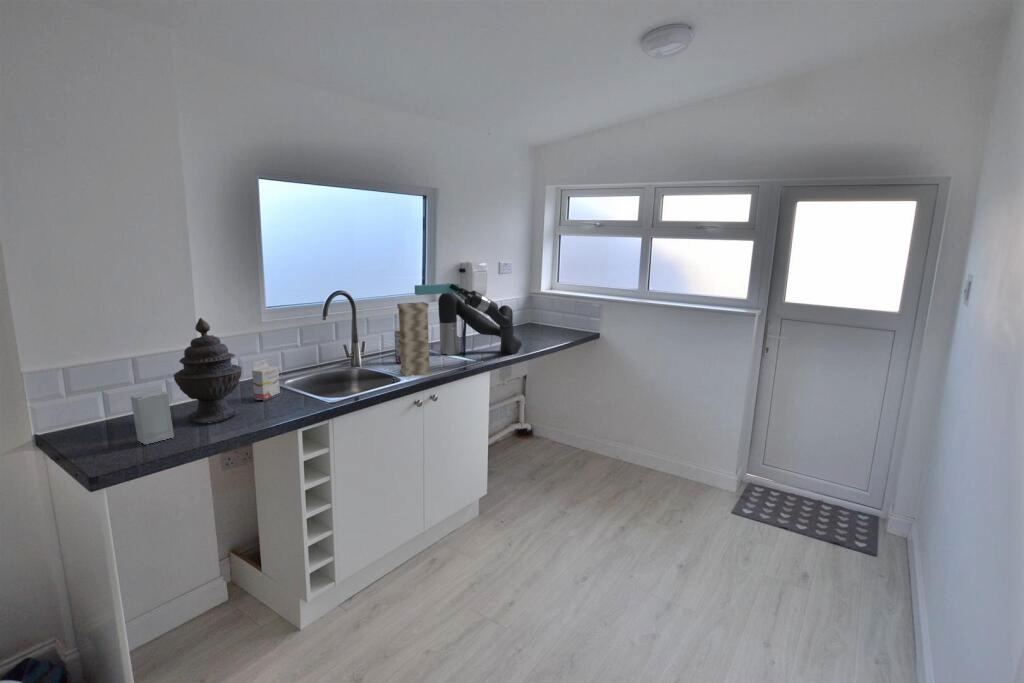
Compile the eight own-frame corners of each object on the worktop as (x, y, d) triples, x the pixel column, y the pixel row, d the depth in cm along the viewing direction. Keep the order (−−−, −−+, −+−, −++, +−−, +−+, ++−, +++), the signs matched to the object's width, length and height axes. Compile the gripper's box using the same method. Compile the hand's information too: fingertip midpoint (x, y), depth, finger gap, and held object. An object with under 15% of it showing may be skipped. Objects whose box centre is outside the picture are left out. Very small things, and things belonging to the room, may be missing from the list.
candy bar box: (395, 363, 266) (393, 330, 263) (398, 361, 270) (397, 329, 268) (417, 363, 264) (416, 331, 262) (420, 361, 269) (418, 329, 266)
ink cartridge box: (264, 402, 202) (261, 363, 199) (254, 400, 203) (250, 362, 201) (281, 396, 209) (278, 359, 207) (271, 394, 211) (267, 358, 208)
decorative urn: (237, 423, 175) (220, 317, 170) (170, 431, 172) (151, 323, 167) (256, 408, 195) (242, 312, 190) (197, 414, 192) (180, 317, 187)
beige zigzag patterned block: (425, 370, 251) (422, 302, 245) (430, 373, 245) (428, 303, 239) (400, 373, 245) (397, 303, 240) (405, 376, 239) (402, 305, 234)
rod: (455, 291, 250) (455, 283, 249) (459, 292, 247) (459, 283, 246) (414, 294, 241) (414, 285, 240) (417, 295, 237) (417, 286, 236)
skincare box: (167, 434, 167) (161, 388, 164) (175, 439, 164) (169, 391, 161) (136, 442, 161) (129, 394, 158) (143, 447, 157) (136, 398, 154)
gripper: (481, 310, 248) (451, 293, 239) (468, 307, 260) (439, 291, 252) (488, 295, 249) (458, 278, 240) (475, 293, 261) (446, 276, 252)
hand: (448, 285), depth 246 cm, fingers closed on rod, 4 cm apart
